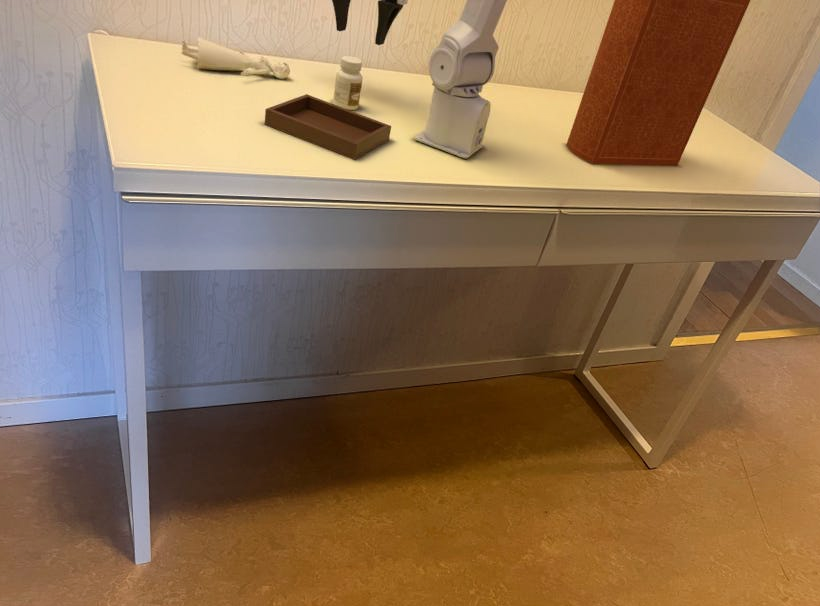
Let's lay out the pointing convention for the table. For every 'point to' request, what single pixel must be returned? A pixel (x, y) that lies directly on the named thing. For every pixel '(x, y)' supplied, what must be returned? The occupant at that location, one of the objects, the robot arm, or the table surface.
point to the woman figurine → (231, 60)
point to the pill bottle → (348, 83)
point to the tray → (328, 125)
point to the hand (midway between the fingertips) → (360, 37)
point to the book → (652, 79)
